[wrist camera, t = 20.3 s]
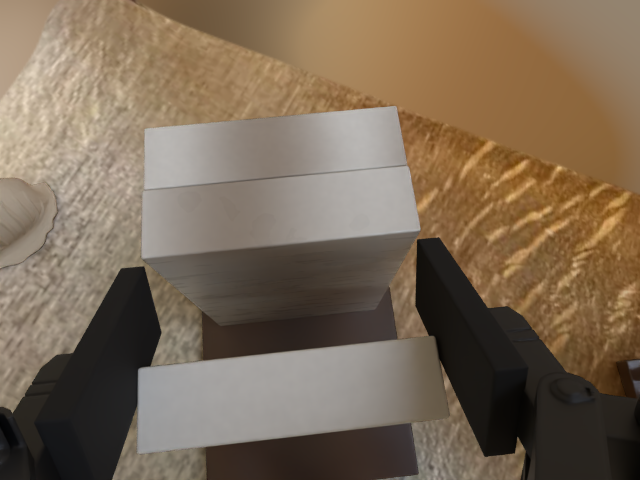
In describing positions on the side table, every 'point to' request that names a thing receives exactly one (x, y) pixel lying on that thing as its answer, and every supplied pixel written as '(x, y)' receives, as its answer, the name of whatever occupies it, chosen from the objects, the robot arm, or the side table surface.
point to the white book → (289, 394)
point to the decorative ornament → (24, 219)
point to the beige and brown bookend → (287, 259)
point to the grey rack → (630, 377)
